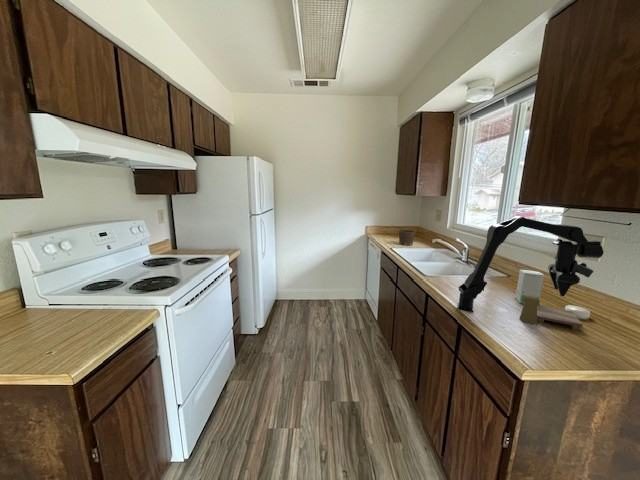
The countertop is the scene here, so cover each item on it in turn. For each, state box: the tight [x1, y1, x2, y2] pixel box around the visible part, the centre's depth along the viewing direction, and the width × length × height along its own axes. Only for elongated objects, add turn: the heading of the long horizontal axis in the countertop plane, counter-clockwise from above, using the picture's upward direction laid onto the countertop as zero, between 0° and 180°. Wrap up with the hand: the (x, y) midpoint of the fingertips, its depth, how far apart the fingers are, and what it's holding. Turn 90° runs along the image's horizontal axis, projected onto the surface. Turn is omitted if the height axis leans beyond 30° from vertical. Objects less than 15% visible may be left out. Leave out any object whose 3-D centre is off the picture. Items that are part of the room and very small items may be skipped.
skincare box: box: [514, 269, 545, 305], centre depth 130 cm, size 8×7×16 cm
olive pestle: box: [518, 295, 541, 325], centre depth 110 cm, size 6×6×11 cm
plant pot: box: [397, 229, 417, 247], centre depth 261 cm, size 16×16×16 cm
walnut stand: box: [537, 304, 584, 332], centre depth 112 cm, size 14×14×3 cm
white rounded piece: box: [564, 304, 591, 320], centre depth 117 cm, size 8×8×3 cm
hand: (559, 292), depth 110 cm, fingers open, 9 cm apart
